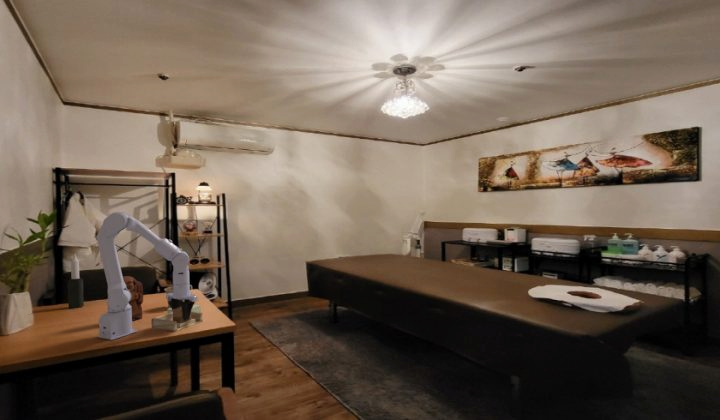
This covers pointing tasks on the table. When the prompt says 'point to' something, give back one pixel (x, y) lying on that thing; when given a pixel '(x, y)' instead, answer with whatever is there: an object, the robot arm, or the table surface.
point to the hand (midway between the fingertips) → (182, 318)
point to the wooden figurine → (135, 296)
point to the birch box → (174, 322)
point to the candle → (75, 286)
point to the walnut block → (179, 315)
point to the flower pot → (169, 290)
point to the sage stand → (195, 309)
